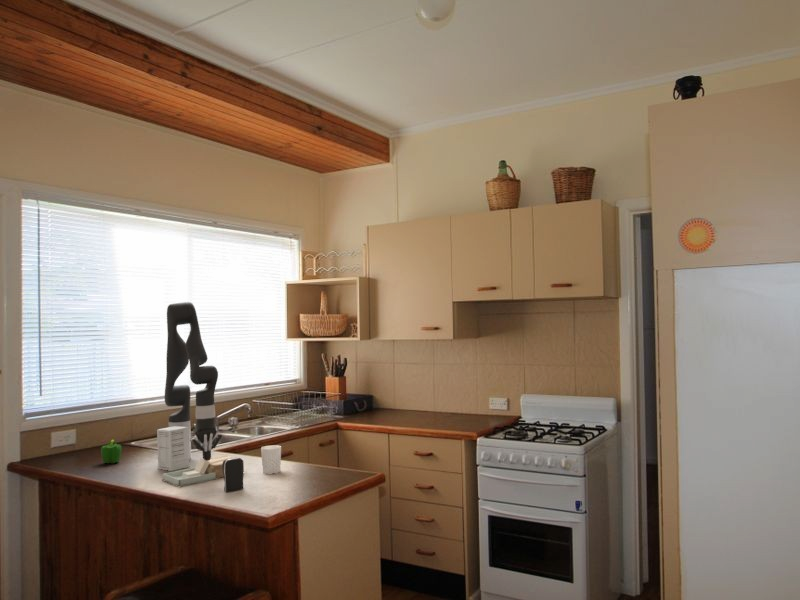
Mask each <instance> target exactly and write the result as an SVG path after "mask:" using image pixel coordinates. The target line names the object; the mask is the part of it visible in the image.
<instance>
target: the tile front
mask: <svg viewBox="0 0 800 600" xmlns="http://www.w3.org/2000/svg"><path fill="white" fill-rule="evenodd" d="M199 475H200V472H197V471H189V472H184V473H182V478H183V479H185V478H190V477H195V476H199Z"/></svg>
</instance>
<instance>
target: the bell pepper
mask: <svg viewBox="0 0 800 600" xmlns="http://www.w3.org/2000/svg"><path fill="white" fill-rule="evenodd" d="M114 442H115V440H114V439H111V440H110V444H107V445H103V446H101V447H100V454H101V458H102V461H103V463H104V464H105V463H111V464H116V463H115V462H117V463H119V462H120V459H121V456H122V452H123V451H122V450H123V449H122V448H123V447H122V445H121V444H117V443H114ZM118 461H119V462H118Z"/></svg>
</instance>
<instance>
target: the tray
mask: <svg viewBox="0 0 800 600" xmlns="http://www.w3.org/2000/svg"><path fill="white" fill-rule="evenodd" d="M194 469H195V467H191V468H184V469H178V470H174V471H169V472H163V473H162V478H161V479H162V481H163V480H165V481H164V482H166V481H167V482H166V483H168V482H169V483H168V484H170V485H173V484H174V485H173V486H176V485H177V486H176V487H178V486H181V487H184V486H188V485H189V486H190V485H195V484H199V482H200V483H205V482H208V481H213V479H214V480H217V479H216V473H215V472H214V473H209V474H201V473H200V475H199V476H195V477H190V478H185V479H183V478H182V473H184V472H189V471H194ZM204 481H205V482H204ZM194 483H195V484H194Z"/></svg>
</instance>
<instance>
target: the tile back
mask: <svg viewBox="0 0 800 600" xmlns="http://www.w3.org/2000/svg"><path fill="white" fill-rule="evenodd" d="M209 463H210V462H208V461H206V460H204V459H203V458H200V459H199V460H198V462H197V463H196V465H195V467H194V468H195V469H194V471H197V472H200V473H201V474H204V473H205V471H206V469H207V467H208V465H209Z"/></svg>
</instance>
